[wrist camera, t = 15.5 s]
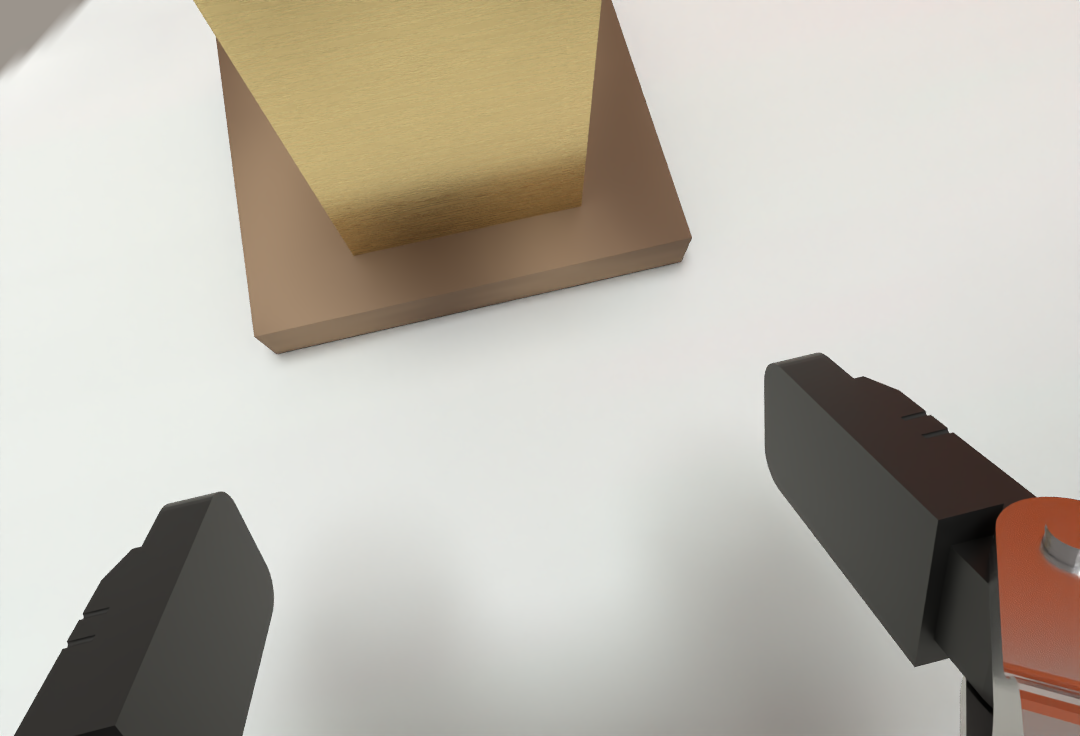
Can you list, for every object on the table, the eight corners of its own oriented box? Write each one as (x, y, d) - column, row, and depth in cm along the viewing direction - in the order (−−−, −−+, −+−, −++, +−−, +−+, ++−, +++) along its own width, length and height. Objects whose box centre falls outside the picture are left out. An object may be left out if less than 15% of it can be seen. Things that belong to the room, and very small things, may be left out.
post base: (593, -3, 22) (626, -391, 13) (681, 261, 20) (797, 1, 11) (237, 69, 22) (14, -287, 13) (276, 353, 19) (27, 160, 10)
